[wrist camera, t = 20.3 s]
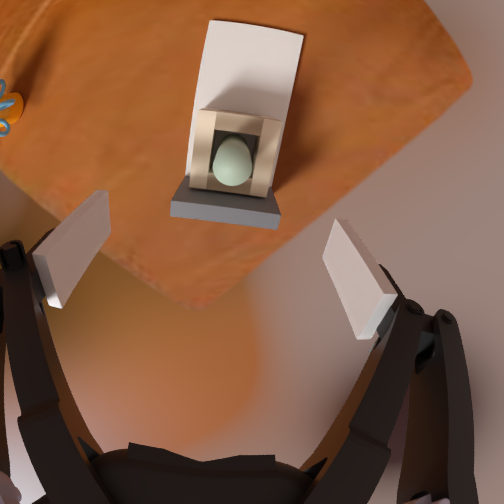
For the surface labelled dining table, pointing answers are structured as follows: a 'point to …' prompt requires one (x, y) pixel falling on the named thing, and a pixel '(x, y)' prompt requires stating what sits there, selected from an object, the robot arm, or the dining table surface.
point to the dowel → (232, 160)
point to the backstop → (240, 100)
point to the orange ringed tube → (9, 108)
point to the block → (242, 123)
